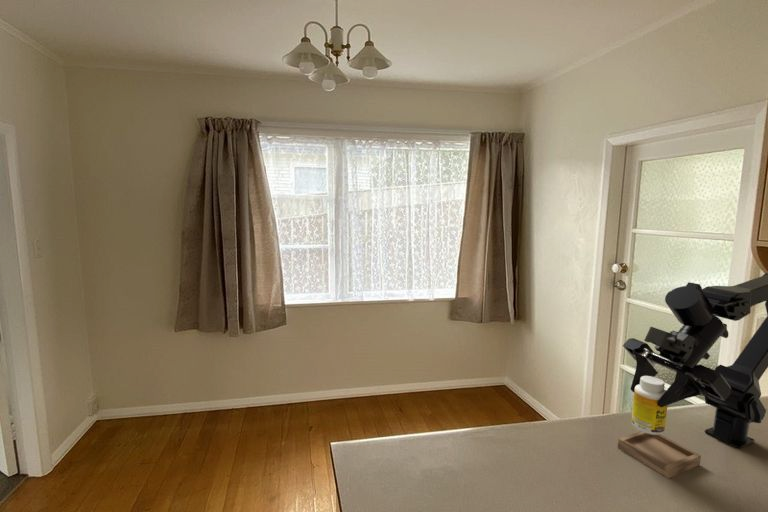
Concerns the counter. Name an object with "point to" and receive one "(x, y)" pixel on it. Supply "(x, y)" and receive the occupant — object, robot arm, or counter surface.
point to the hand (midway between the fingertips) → (645, 398)
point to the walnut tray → (659, 453)
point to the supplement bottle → (649, 406)
